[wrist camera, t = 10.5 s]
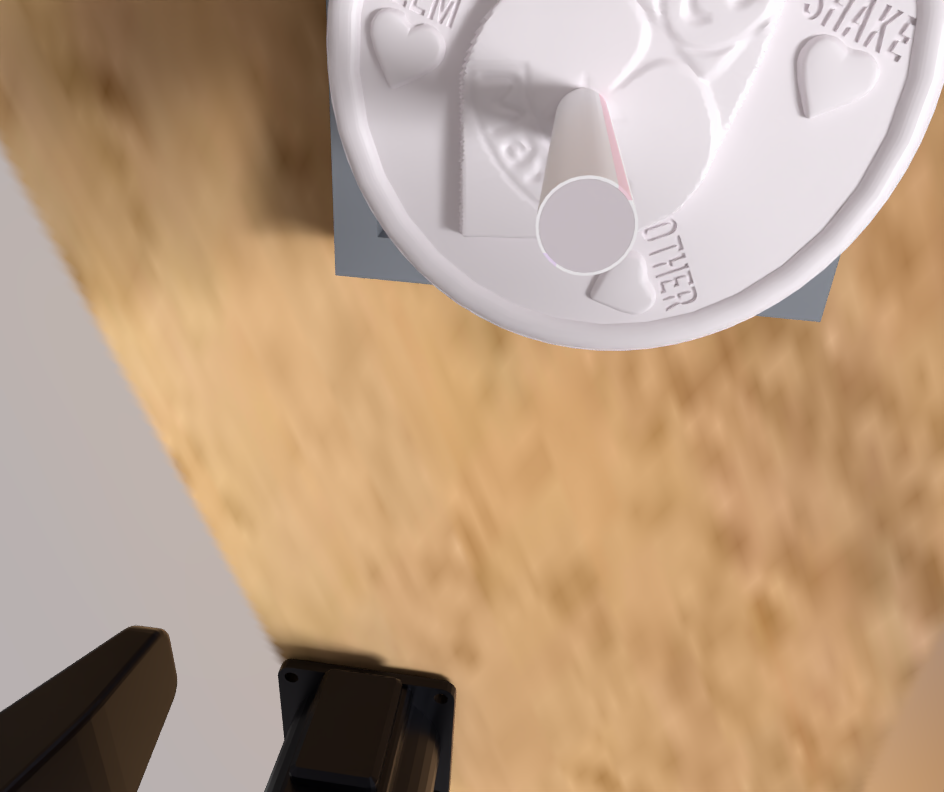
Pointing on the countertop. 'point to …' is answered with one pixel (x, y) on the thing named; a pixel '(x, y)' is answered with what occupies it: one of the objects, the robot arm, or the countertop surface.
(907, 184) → the countertop surface
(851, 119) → the smoothie
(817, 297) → the tray
